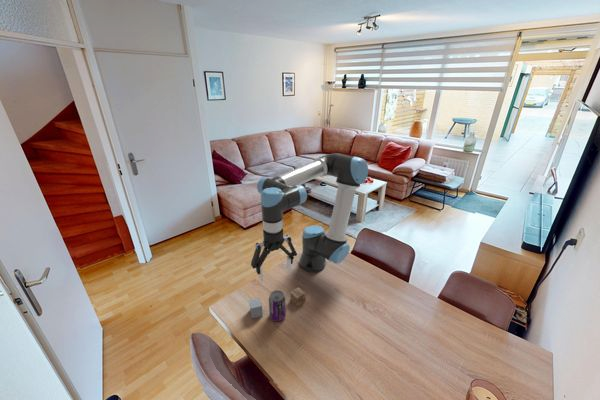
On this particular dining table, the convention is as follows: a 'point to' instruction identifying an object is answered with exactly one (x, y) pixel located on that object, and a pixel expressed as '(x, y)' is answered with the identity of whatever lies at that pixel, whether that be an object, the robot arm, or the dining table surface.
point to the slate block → (255, 308)
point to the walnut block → (297, 296)
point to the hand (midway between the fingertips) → (275, 274)
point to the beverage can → (277, 305)
